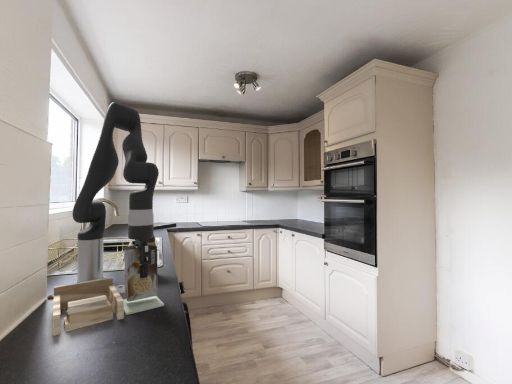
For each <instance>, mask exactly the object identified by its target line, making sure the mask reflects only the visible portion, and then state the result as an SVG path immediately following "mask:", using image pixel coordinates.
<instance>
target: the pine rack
mask: <svg viewBox="0 0 512 384" xmlns="http://www.w3.org/2000/svg"><path fill="white" fill-rule="evenodd" d="M115 286H116V285H114V277H113V276H110V277H105V278H104V277H103V279H97V280H91V281H85V282H79V283H78V282H74V283H67V284H62V285H61V284H60V285H56V286H53V295H54V299H53V303H52V305H53V307H52V337H55V336H60V335H61V311H62V310H66V309H68V302H72V301H77V300H82V299H87V298H93V297H98V296H103V295H106V298H107V301H108V302H110V303H111V304H112V312H113V314H114V316H115V318H116V319H117V320H118V321H119V320H123V319H124V318H125V316H124V315H125V312H124V300H123V297H122V296H121V293H118V291H117V290H116V288H115Z"/></svg>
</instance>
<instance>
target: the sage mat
mask: <svg viewBox="0 0 512 384" xmlns="http://www.w3.org/2000/svg"><path fill="white" fill-rule="evenodd" d="M122 299H123V298H122ZM123 300H124V315H125V316H128V315H132V314H136V313H140V312H144V311H149V310H152V309H156V308H157V309H158V308H161V307H164V306H165V303H164V302H163V301H162V300H161V299H160V298H159V297H158V296H153V297H148V298H143V299H139V300H134V301H129V302H128V301H127V299H126V298H124V299H123Z"/></svg>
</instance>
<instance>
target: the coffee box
mask: <svg viewBox="0 0 512 384" xmlns="http://www.w3.org/2000/svg"><path fill="white" fill-rule="evenodd" d="M149 245H151V261H150V262H151V263H150V264H149V265H148V277H147V278H140V265H139V264H140V263H139V259H138V255H140V256H141V251H140V248H135V247H134V246H132V245H127V246H124V247H123V249H124V250H123V252H124V254H123V255H124V256H123V257H124V261H123V262H124V264H123V265H124V285H125V292H124V297H125V299H127V301H128V302H129V301H134V300H139V299H143V298H148V297H153V296H157V297H158V295H159V289H158V288H159V285H158V284H159V283H158V277H159V275H158V245H156V244H155V245H154V244H149ZM144 261H146V258H144Z"/></svg>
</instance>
